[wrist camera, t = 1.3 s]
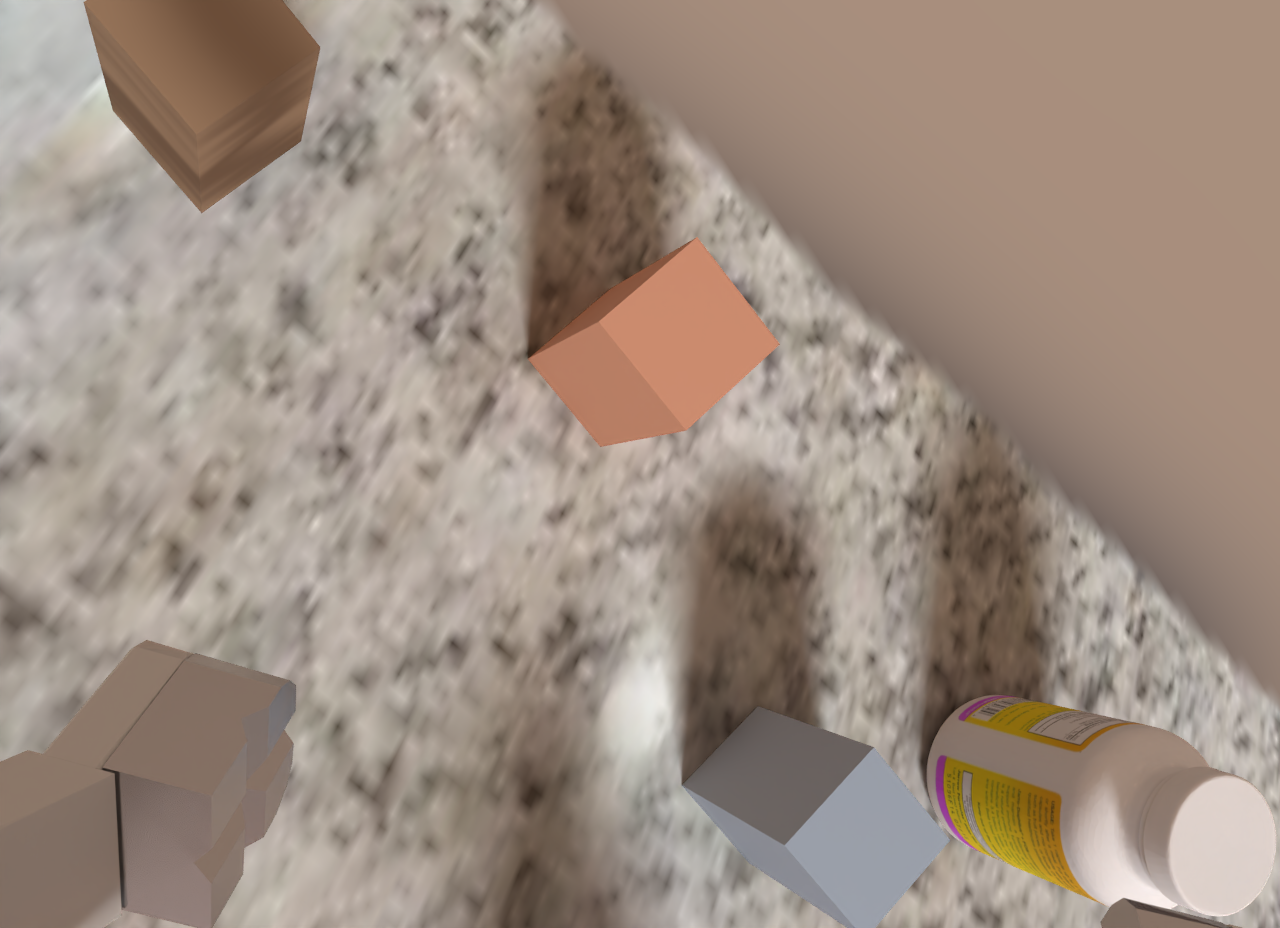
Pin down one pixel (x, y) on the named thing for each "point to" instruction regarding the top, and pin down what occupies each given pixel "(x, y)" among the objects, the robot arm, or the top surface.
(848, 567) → the top surface
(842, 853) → the slate block
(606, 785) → the top surface
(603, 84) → the top surface
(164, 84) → the walnut block
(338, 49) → the top surface
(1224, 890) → the supplement bottle
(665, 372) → the terracotta block
